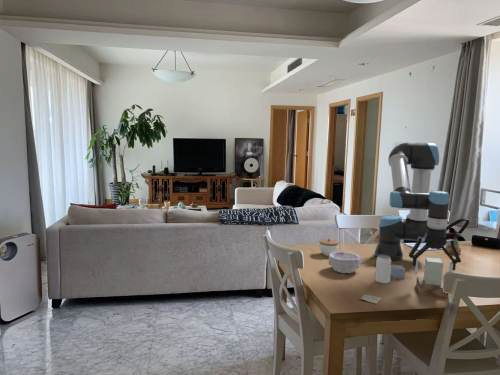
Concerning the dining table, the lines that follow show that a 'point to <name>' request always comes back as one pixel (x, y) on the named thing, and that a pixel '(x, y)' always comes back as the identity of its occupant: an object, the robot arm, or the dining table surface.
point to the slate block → (397, 271)
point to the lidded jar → (328, 246)
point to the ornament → (454, 245)
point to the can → (383, 269)
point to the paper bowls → (344, 261)
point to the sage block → (433, 271)
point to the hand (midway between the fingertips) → (432, 275)
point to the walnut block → (430, 288)
